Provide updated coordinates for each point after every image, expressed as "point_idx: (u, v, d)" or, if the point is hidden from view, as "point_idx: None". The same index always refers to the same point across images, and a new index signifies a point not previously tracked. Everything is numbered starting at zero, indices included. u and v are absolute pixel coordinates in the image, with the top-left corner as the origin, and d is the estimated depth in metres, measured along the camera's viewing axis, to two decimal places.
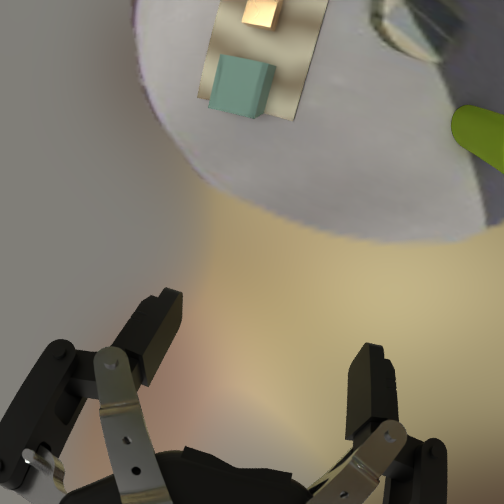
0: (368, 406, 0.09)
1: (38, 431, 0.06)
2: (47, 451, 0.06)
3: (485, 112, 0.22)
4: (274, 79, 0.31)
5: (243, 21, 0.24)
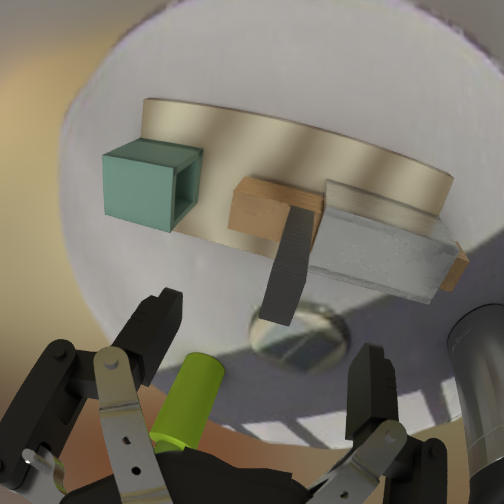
0: (368, 407, 0.09)
1: (38, 431, 0.06)
2: (47, 451, 0.06)
3: (206, 399, 0.35)
4: None
5: (234, 192, 0.20)
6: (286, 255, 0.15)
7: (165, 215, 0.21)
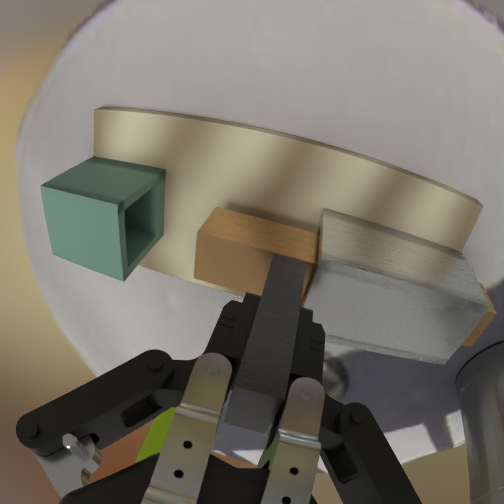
0: None
1: (93, 424, 0.07)
2: (92, 444, 0.07)
3: None
4: None
5: (199, 235, 0.15)
6: (259, 351, 0.10)
7: (116, 261, 0.16)
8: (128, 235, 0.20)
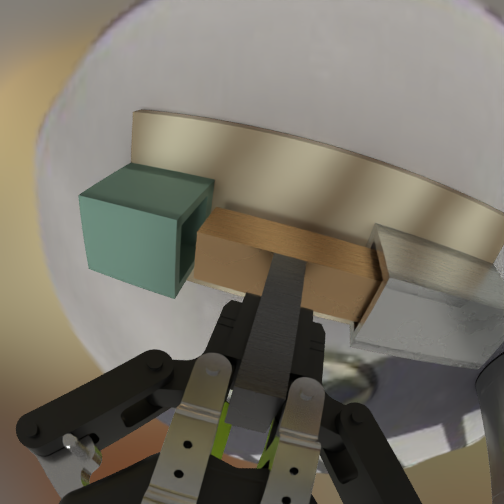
0: None
1: (93, 424, 0.07)
2: (92, 444, 0.07)
3: (217, 447, 0.29)
4: None
5: (199, 235, 0.15)
6: (260, 351, 0.10)
7: (168, 278, 0.16)
8: None
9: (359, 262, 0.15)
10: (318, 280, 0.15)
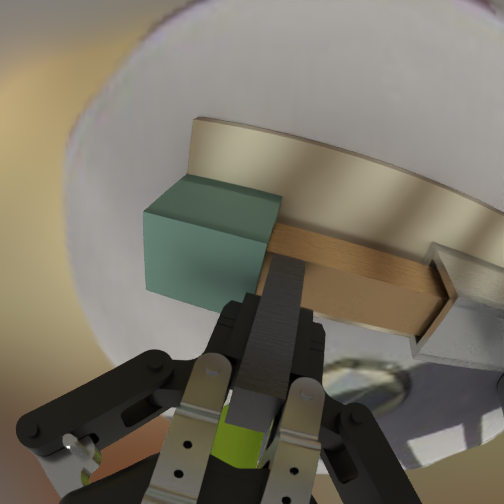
0: None
1: (93, 424, 0.07)
2: (92, 444, 0.07)
3: (253, 456, 0.29)
4: None
5: None
6: (260, 351, 0.10)
7: None
8: None
9: (358, 262, 0.15)
10: (318, 280, 0.15)
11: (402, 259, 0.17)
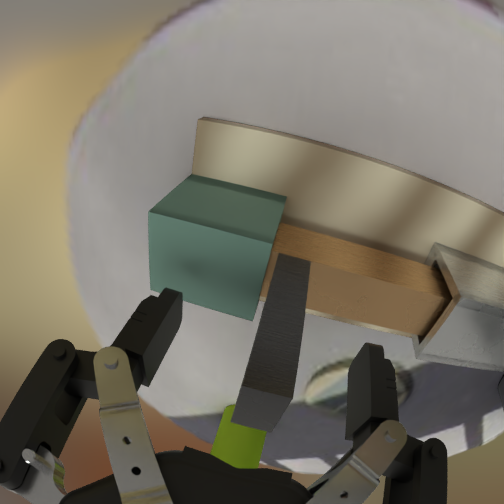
0: (368, 406, 0.09)
1: (38, 431, 0.06)
2: (47, 451, 0.06)
3: (255, 456, 0.29)
4: None
5: None
6: (266, 350, 0.10)
7: (249, 301, 0.16)
8: None
9: (362, 262, 0.15)
10: (322, 280, 0.15)
11: (405, 259, 0.17)
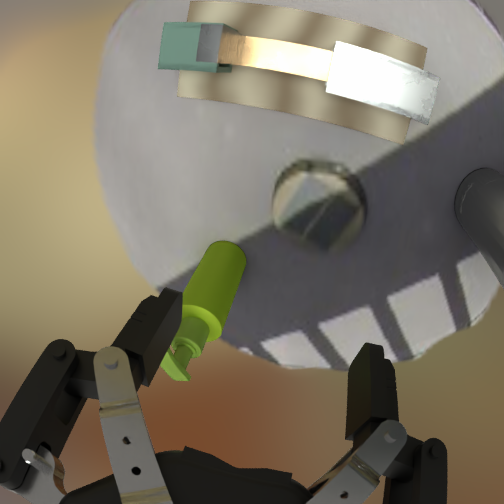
0: (368, 406, 0.09)
1: (38, 431, 0.06)
2: (47, 451, 0.06)
3: (231, 277, 0.37)
4: None
5: None
6: None
7: None
8: None
9: None
10: (253, 46, 0.23)
11: None
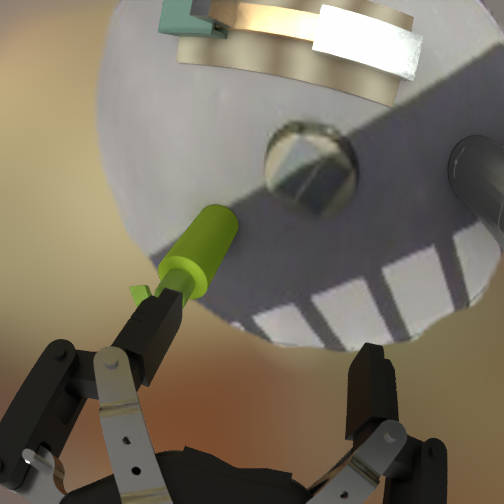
0: (368, 406, 0.09)
1: (38, 431, 0.06)
2: (47, 451, 0.06)
3: (221, 236, 0.37)
4: (213, 39, 0.29)
5: None
6: None
7: None
8: None
9: None
10: (246, 11, 0.23)
11: None
